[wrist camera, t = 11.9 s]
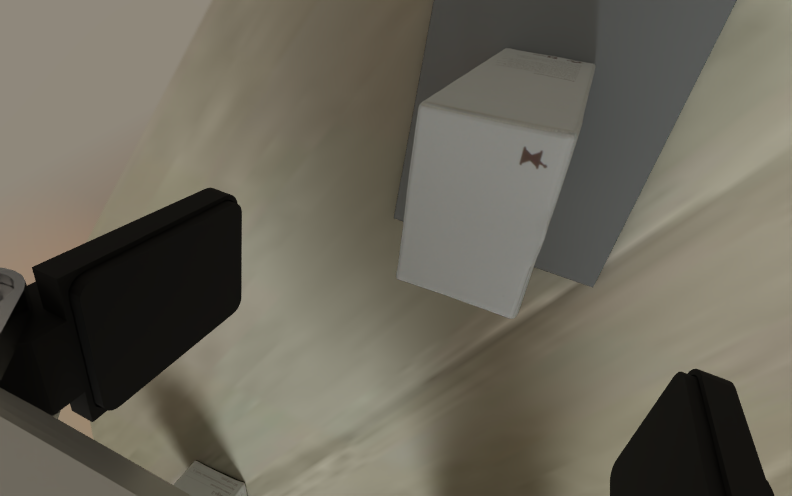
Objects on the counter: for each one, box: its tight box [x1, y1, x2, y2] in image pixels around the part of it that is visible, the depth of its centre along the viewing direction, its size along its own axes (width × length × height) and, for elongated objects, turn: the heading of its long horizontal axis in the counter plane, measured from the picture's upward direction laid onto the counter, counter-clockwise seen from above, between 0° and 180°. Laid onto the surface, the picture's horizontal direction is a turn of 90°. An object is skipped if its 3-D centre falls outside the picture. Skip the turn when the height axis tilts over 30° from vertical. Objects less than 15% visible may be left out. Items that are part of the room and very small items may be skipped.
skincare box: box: [396, 48, 596, 319], centre depth 18 cm, size 6×4×12 cm
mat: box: [394, 0, 737, 287], centre depth 23 cm, size 16×12×1 cm
